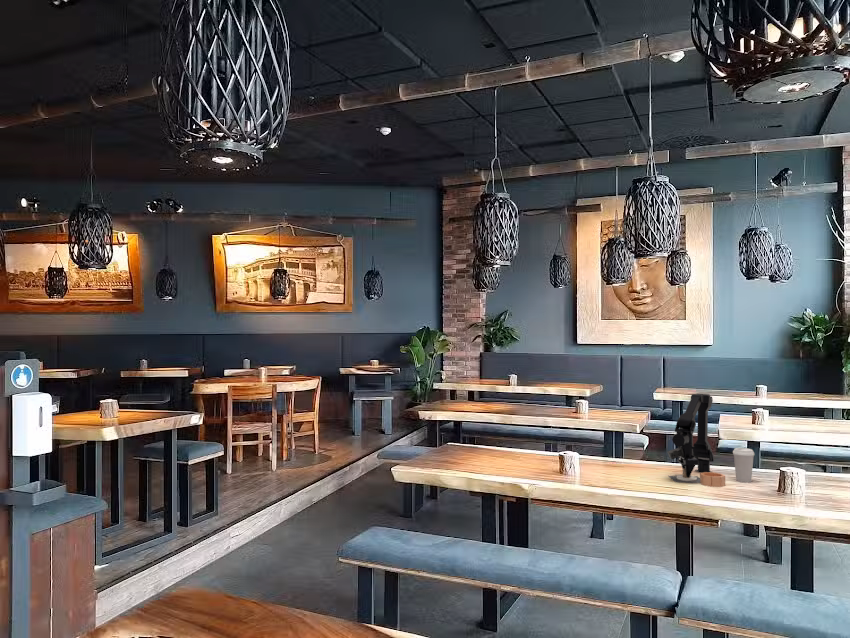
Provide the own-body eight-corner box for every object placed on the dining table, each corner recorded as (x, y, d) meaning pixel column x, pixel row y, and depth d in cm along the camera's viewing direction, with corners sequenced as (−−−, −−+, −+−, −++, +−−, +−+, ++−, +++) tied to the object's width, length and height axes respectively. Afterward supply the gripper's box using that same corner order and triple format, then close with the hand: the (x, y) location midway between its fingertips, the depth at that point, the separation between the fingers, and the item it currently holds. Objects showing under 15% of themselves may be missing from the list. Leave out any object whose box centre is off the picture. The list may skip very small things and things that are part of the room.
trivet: (667, 476, 317) (667, 475, 317) (697, 477, 316) (697, 476, 316) (675, 483, 303) (675, 482, 303) (706, 484, 302) (706, 483, 302)
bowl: (698, 482, 305) (697, 472, 305) (720, 483, 304) (719, 472, 304) (705, 487, 295) (705, 476, 295) (727, 488, 294) (727, 477, 294)
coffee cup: (743, 477, 315) (742, 447, 315) (759, 482, 306) (759, 450, 306) (728, 479, 312) (727, 448, 312) (744, 483, 303) (744, 451, 303)
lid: (674, 476, 314) (674, 466, 314) (693, 477, 314) (693, 466, 314) (679, 481, 305) (679, 470, 306) (699, 481, 305) (699, 470, 305)
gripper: (663, 440, 320) (664, 471, 320) (674, 446, 301) (674, 480, 301) (687, 440, 319) (687, 472, 319) (699, 447, 300) (699, 480, 300)
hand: (686, 476), depth 310 cm, fingers closed on lid, 4 cm apart
